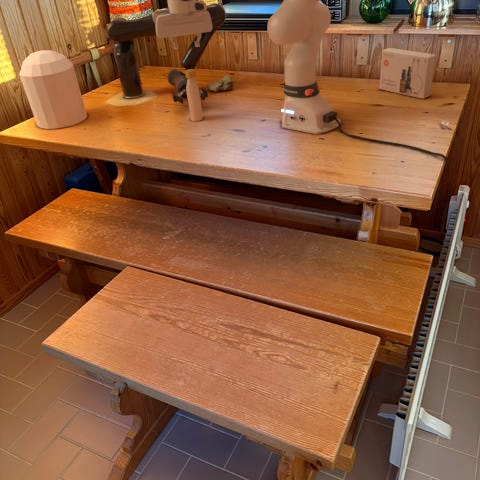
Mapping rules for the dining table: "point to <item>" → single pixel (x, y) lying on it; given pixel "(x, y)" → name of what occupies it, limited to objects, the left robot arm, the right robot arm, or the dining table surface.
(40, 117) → the container
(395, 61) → the skincare box
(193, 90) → the bottle
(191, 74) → the cap
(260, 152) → the dining table surface
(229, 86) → the rock
